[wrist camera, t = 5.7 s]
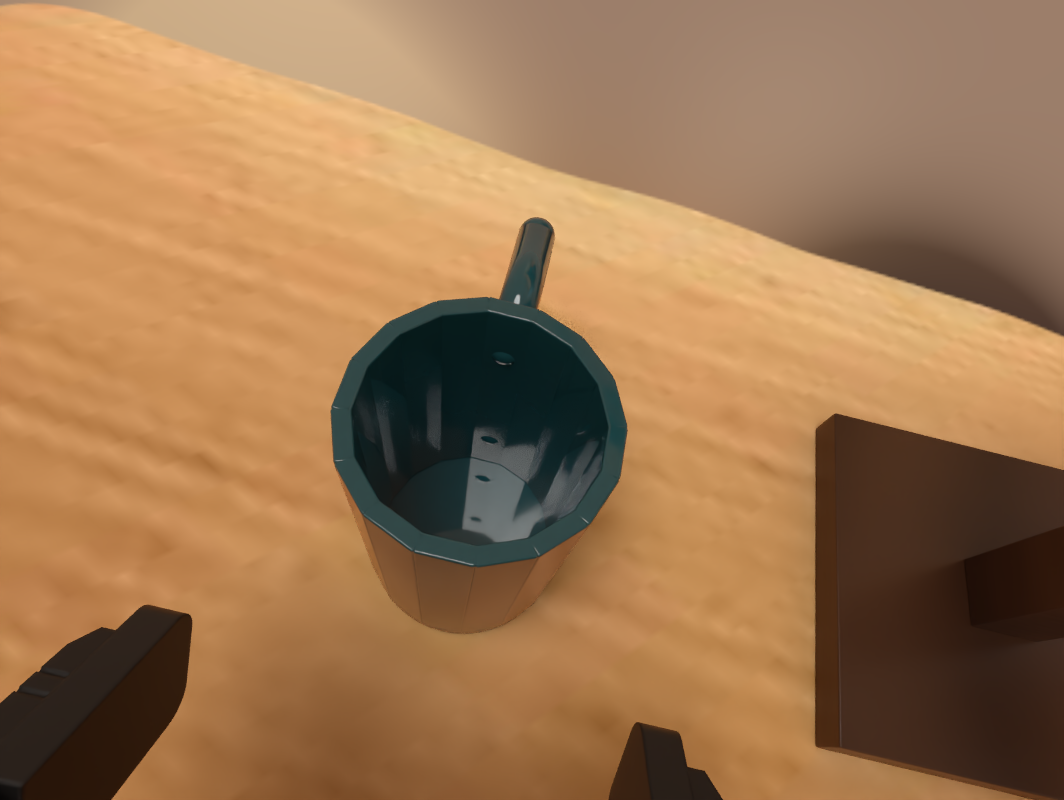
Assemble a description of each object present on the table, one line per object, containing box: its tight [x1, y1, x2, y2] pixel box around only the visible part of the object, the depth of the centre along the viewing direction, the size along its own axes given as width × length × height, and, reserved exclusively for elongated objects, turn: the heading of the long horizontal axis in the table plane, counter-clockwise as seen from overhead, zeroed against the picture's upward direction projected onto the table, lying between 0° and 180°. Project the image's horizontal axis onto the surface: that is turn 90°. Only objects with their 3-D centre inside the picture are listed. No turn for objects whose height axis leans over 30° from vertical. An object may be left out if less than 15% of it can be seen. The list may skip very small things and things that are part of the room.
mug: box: [331, 217, 628, 634], centre depth 20 cm, size 11×6×10 cm, turn 168°
